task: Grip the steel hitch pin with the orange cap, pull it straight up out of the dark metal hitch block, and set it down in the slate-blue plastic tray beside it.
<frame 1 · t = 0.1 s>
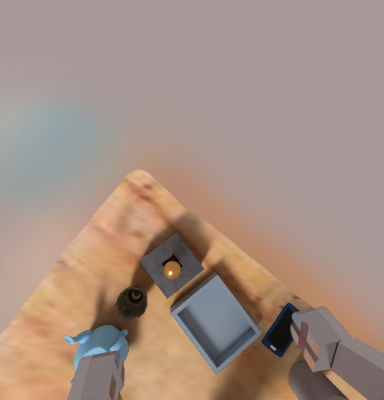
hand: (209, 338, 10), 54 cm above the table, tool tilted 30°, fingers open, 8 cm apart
cell phone: (283, 328, 65), on the table
teapot: (105, 341, 60), on the table
hitch pin: (172, 265, 57), in the hitch block
hitch block: (172, 261, 63), on the table
pillar candle: (303, 377, 64), on the table
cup: (136, 293, 62), on the table
tray: (214, 317, 63), on the table
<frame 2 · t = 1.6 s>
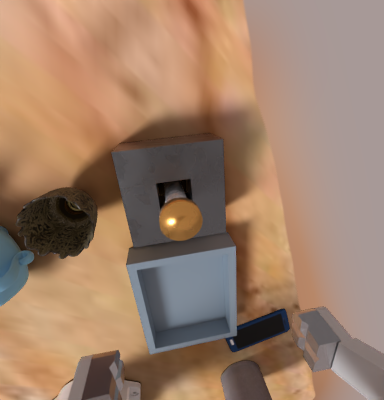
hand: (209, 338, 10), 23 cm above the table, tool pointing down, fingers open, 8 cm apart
cell phone: (256, 327, 48), on the table
hitch pin: (175, 197, 26), in the hitch block
hitch block: (171, 181, 31), on the table
pillar candle: (239, 372, 53), on the table
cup: (79, 200, 31), on the table
tray: (185, 286, 39), on the table
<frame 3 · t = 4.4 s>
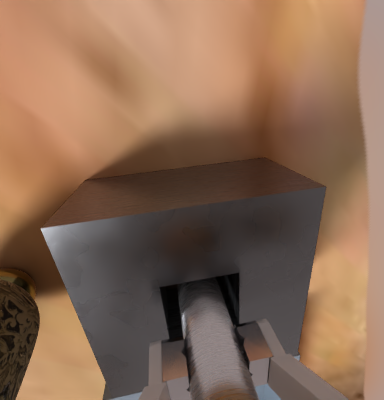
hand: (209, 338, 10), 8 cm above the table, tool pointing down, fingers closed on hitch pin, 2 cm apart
hitch pin: (203, 310, 11), in the hitch block, touching gripper
hitch block: (187, 243, 17), on the table
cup: (14, 281, 16), on the table
tray: (203, 388, 25), on the table
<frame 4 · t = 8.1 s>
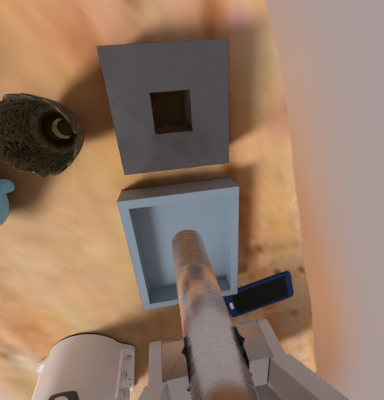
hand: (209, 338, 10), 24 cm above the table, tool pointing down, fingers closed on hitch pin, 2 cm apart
cell phone: (257, 292, 45), on the table
hitch pin: (203, 309, 11), point 22 cm above the table, touching gripper
hitch block: (169, 109, 28), on the table
pillar candle: (238, 340, 51), on the table
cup: (65, 127, 27), on the table
tray: (183, 239, 37), on the table
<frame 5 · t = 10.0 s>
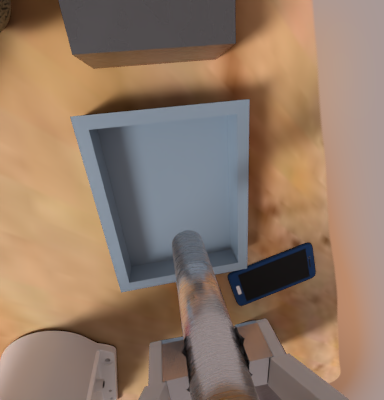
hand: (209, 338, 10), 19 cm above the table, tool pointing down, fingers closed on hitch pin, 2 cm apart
cell phone: (271, 272, 36), on the table
hitch pin: (203, 310, 11), point 17 cm above the table, touching gripper
tray: (173, 194, 27), on the table
when the fingers open (10 cm above the table, at t = 11.8 s): hitch pin drops 1 cm, resting on tray.
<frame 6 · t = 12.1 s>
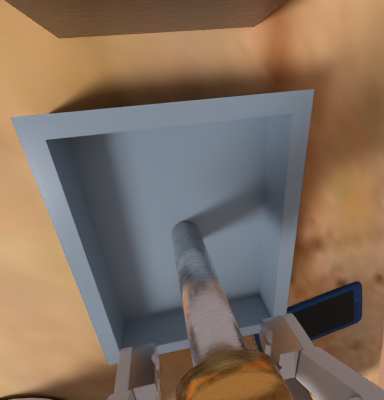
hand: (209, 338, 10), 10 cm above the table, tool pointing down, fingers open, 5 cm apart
cell phone: (305, 316, 28), on the table
hitch pin: (200, 288, 13), in the tray, point 7 cm above the table
pillar candle: (270, 389, 33), on the table
tray: (183, 227, 19), on the table
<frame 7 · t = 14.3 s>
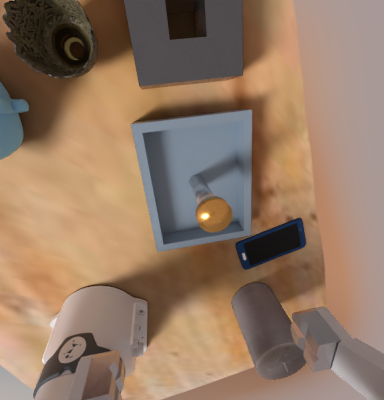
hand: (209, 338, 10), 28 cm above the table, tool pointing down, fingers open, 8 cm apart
cell phone: (269, 242, 45), on the table
hitch pin: (204, 196, 30), in the tray, point 7 cm above the table
hitch block: (180, 31, 28), on the table
pillar candle: (251, 297, 50), on the table
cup: (78, 50, 27), on the table
tray: (195, 179, 36), on the table
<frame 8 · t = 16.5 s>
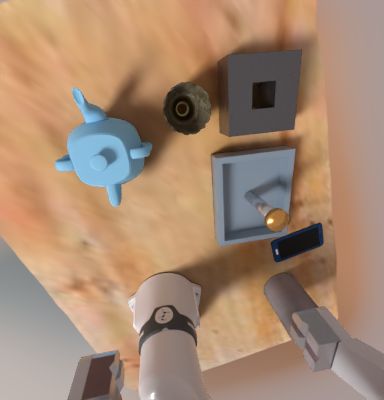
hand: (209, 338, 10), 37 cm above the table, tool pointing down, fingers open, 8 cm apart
cell phone: (296, 241, 58), on the table
teapot: (110, 144, 41), on the table
hitch pin: (262, 206, 43), in the tray, point 7 cm above the table
hitch block: (249, 96, 42), on the table
pillar candle: (278, 285, 63), on the table
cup: (181, 108, 41), on the table
tray: (247, 194, 50), on the table
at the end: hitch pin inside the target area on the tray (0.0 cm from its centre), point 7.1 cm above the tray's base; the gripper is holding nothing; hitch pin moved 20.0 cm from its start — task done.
